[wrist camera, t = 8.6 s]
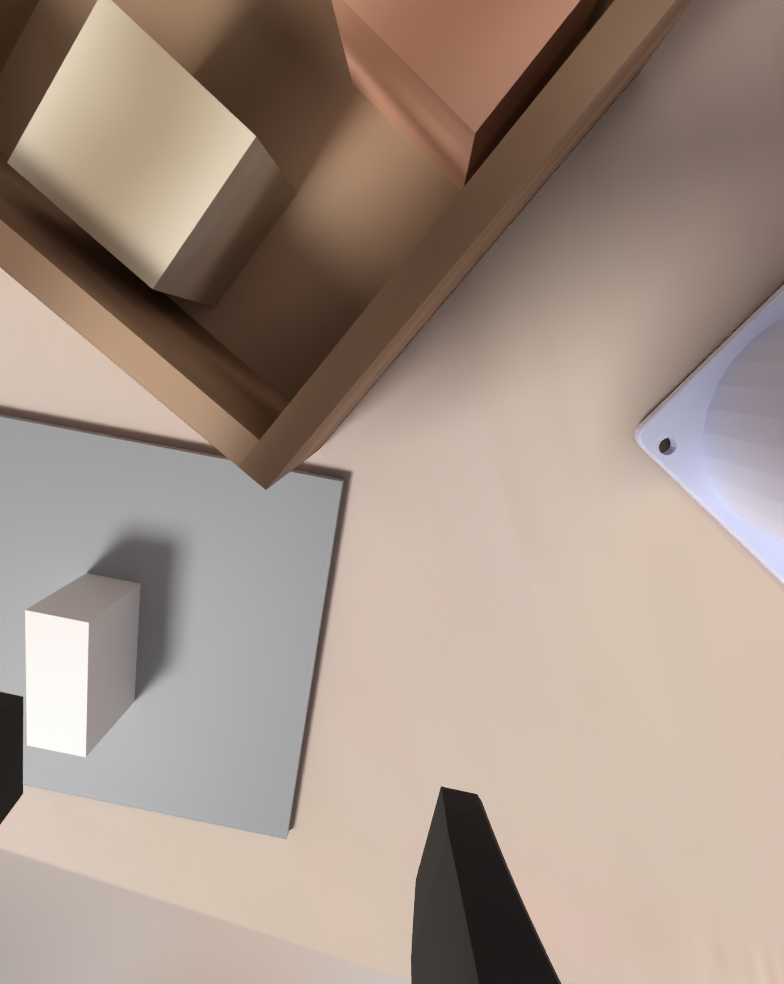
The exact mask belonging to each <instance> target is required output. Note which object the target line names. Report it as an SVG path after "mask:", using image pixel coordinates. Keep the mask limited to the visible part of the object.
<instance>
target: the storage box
mask: <svg viewBox="0 0 784 984" xmlns="http://www.w3.org/2000/svg"><path fill="white" fill-rule="evenodd" d="M97 1H98V0H0V267H1V268H2V269H3V270H4V271H5V272H6V273H8V274H9V275H10V276H11V277H12V278H14V279H15V280H16V281H17V282H18V283H20V284H21V285H22V286H23V287H24V288H26V289H27V290H28V291H29V292H30V293H32V294H33V295H34V296H35V297H36V298H37V299H39V300H40V301H41V302H42V303H43V304H45V305H46V306H47V307H48V308H49V309H51V310H52V311H53V312H54V313H55V314H57V315H58V316H59V317H60V318H61V319H62V320H64V321H65V322H66V323H67V324H68V325H70V326H71V327H72V328H73V329H74V330H76V331H77V332H78V333H79V334H80V335H82V336H83V337H84V338H85V339H86V340H88V341H89V342H90V343H91V344H92V345H93V346H95V347H96V348H97V349H98V350H99V351H101V352H102V353H103V354H104V355H105V356H107V357H108V358H109V359H110V360H111V361H113V362H114V363H115V364H116V365H117V366H118V367H120V368H121V369H122V370H123V371H124V372H126V373H127V374H128V375H129V376H130V377H132V378H133V379H134V380H135V381H136V382H138V383H139V384H140V385H141V386H142V387H144V388H145V389H146V390H147V391H148V392H149V393H151V394H152V395H153V396H154V397H155V398H157V399H158V400H159V401H160V402H161V403H163V404H164V405H165V406H166V407H167V408H169V409H170V410H171V411H172V412H173V413H174V414H176V415H177V416H178V417H179V418H180V419H182V420H183V421H184V422H185V423H186V424H188V425H189V426H190V427H191V428H192V429H194V430H195V431H196V432H197V433H198V434H199V435H201V436H202V437H203V438H204V439H205V440H207V441H208V442H209V443H210V444H211V445H213V446H214V447H215V448H216V449H217V450H219V451H220V452H221V453H222V454H223V455H225V456H226V457H227V458H228V459H229V460H230V461H232V462H233V463H234V464H235V465H236V466H238V467H239V468H240V469H241V470H242V471H244V472H245V473H246V474H247V475H248V476H250V477H251V478H252V479H253V480H254V481H255V482H257V483H258V484H259V485H260V486H261V487H263V488H264V489H265V490H267V489H268V488H269V487H271V486H272V485H273V484H275V483H276V482H277V481H279V480H280V479H281V478H283V477H284V476H285V475H287V474H288V473H289V472H290V471H292V470H293V469H294V468H296V467H297V466H298V465H300V464H301V463H302V462H304V461H305V460H306V459H308V458H309V457H310V456H311V455H313V454H314V453H315V452H317V451H318V450H319V449H320V447H321V446H322V445H323V444H324V443H325V442H326V440H327V439H328V438H329V437H330V436H331V434H332V433H333V432H334V431H335V430H336V429H337V427H338V426H339V425H340V424H341V423H342V421H343V420H344V419H345V418H346V417H347V416H348V414H349V413H350V412H351V411H352V410H353V409H354V407H355V406H356V405H357V404H358V403H359V401H360V400H361V399H362V398H363V397H364V396H365V394H366V393H367V392H368V391H369V390H370V388H371V387H372V386H373V385H374V384H375V383H376V381H377V380H378V379H379V378H380V377H381V376H382V374H383V373H384V372H385V371H386V370H387V368H388V367H389V366H390V365H391V364H392V363H393V361H394V360H395V359H396V358H397V357H398V356H399V354H400V353H401V352H402V351H403V350H404V348H405V347H406V346H407V345H408V344H409V343H410V341H411V340H412V339H413V338H414V337H415V335H416V334H417V333H418V332H419V331H420V330H421V328H422V327H423V326H424V325H425V324H426V323H427V321H428V320H429V319H430V318H431V317H432V315H433V314H434V313H435V312H436V311H437V310H438V308H439V307H440V306H441V305H442V304H443V302H444V301H445V300H446V299H447V298H448V297H449V295H450V294H451V293H452V292H453V291H454V290H455V288H456V287H457V286H458V285H459V284H460V282H461V281H462V280H463V279H464V278H465V277H466V275H467V274H468V273H469V272H470V271H471V269H472V268H473V267H474V266H475V265H476V264H477V262H478V261H479V260H480V259H481V258H482V257H483V255H484V254H485V253H486V252H487V251H488V249H489V248H490V247H491V246H492V245H493V244H494V242H495V241H496V240H497V239H498V238H499V236H500V235H501V234H502V233H503V232H504V231H505V229H506V228H507V227H508V226H509V225H510V224H511V222H512V221H513V220H514V219H515V218H516V216H517V215H518V214H519V213H520V212H521V211H522V209H523V208H524V207H525V206H526V205H527V204H528V202H529V201H530V200H531V199H532V198H533V196H534V195H535V194H536V193H537V192H538V191H539V189H540V188H541V187H542V186H543V185H544V183H545V182H546V181H547V180H548V179H549V178H550V176H551V175H552V174H553V173H554V172H555V171H556V169H557V168H558V167H559V166H560V165H561V163H562V162H563V161H564V160H565V159H566V158H567V156H568V155H569V154H570V153H571V152H572V150H573V149H574V148H575V147H576V146H577V145H578V143H579V142H580V141H581V140H582V139H583V138H584V136H585V135H586V134H587V133H588V132H589V130H590V129H591V128H592V127H593V126H594V125H595V123H596V122H597V121H598V120H599V119H600V117H601V116H602V115H603V114H604V113H605V112H606V110H607V109H608V108H609V107H610V106H611V105H612V103H613V102H614V101H615V100H616V99H617V97H618V96H619V95H620V94H621V93H622V92H623V90H624V89H625V88H626V87H627V86H628V84H629V83H630V82H631V81H632V80H633V79H634V77H635V76H636V75H637V74H638V73H639V72H640V70H641V69H642V68H643V67H644V65H645V64H646V62H647V61H648V60H649V58H650V57H651V56H652V54H653V53H654V51H655V50H656V49H657V47H658V46H659V44H660V43H661V42H662V40H663V39H664V38H665V36H666V35H667V33H668V32H669V31H670V29H671V28H672V26H673V25H674V24H675V22H676V21H677V20H678V18H679V17H680V15H681V14H682V13H683V11H684V10H685V8H686V7H687V6H688V4H689V3H690V2H691V0H598V1H597V3H596V5H595V7H594V9H593V12H592V14H591V16H590V18H589V20H588V22H587V24H586V27H585V29H584V31H583V33H582V35H581V37H580V39H579V42H578V44H577V46H576V48H575V50H574V51H573V53H572V54H571V55H570V56H569V58H568V59H567V60H566V61H565V62H564V64H563V65H562V66H561V67H560V69H559V70H558V71H557V72H556V74H555V75H554V76H553V77H552V79H551V80H550V81H549V82H548V84H547V85H546V86H545V87H544V88H543V90H542V91H541V92H540V93H539V95H538V96H537V97H536V98H535V100H534V101H533V102H532V103H531V105H530V106H529V107H528V108H527V110H526V111H525V112H524V113H523V114H522V116H521V117H520V118H519V119H518V121H517V122H516V123H515V124H514V126H513V127H512V128H511V129H510V131H509V132H508V133H507V134H506V136H505V137H504V138H503V139H502V140H501V142H500V143H499V144H498V145H497V147H496V148H495V149H494V150H493V152H492V153H491V154H490V155H489V157H488V158H487V159H486V160H485V162H484V163H483V164H482V165H481V166H480V168H479V169H478V170H477V171H476V173H475V174H474V175H473V176H472V178H471V179H470V180H469V181H468V183H467V184H466V185H465V186H464V188H463V189H462V190H460V189H459V188H458V187H457V186H456V185H455V184H454V183H453V182H452V181H451V180H450V179H449V178H448V177H447V176H446V175H445V174H444V173H443V172H442V171H441V170H440V169H439V168H438V167H437V166H436V165H435V164H434V163H433V162H432V161H431V160H430V159H429V158H428V157H427V156H426V155H425V154H424V153H423V152H422V151H421V150H420V149H419V148H418V147H417V146H416V145H415V144H414V143H413V142H412V141H411V140H410V139H409V138H407V137H406V136H405V135H404V134H403V133H402V132H401V131H400V130H399V129H398V128H397V127H396V126H395V125H394V124H393V123H392V122H391V121H390V120H389V119H388V118H387V117H386V116H385V115H384V114H383V113H382V112H381V111H380V110H379V109H378V108H377V107H376V106H375V105H374V104H373V103H372V102H371V101H370V100H369V99H368V98H367V97H366V96H365V95H364V94H363V93H362V92H361V91H360V90H359V89H358V88H357V87H356V86H355V85H354V84H353V83H352V79H351V75H350V71H349V67H348V64H347V60H346V56H345V52H344V48H343V44H342V40H341V36H340V32H339V28H338V24H337V20H336V16H335V12H334V9H333V5H332V1H331V0H112V1H113V2H114V3H115V4H116V5H117V6H118V7H119V8H120V9H121V10H122V11H123V12H125V13H126V14H127V15H128V16H129V17H130V18H131V19H132V20H133V21H134V22H135V23H136V24H137V25H138V26H139V27H140V28H142V29H143V30H144V31H145V32H146V33H147V34H148V35H149V36H150V37H151V38H152V39H153V40H154V41H155V42H156V43H157V44H159V45H160V46H161V47H162V48H163V49H164V50H165V51H166V52H167V53H168V54H169V55H170V56H171V57H172V58H173V59H174V60H176V61H177V62H178V63H179V64H180V65H181V66H182V67H183V68H184V69H185V70H186V71H187V72H188V73H189V74H190V75H192V76H193V77H194V78H195V79H196V80H197V81H198V82H199V83H200V84H201V85H202V86H203V87H204V88H205V89H206V90H207V91H209V92H210V93H211V94H212V95H213V96H214V97H215V98H216V99H217V100H218V101H219V102H220V103H221V104H222V105H223V106H224V107H226V108H227V109H228V110H229V111H230V112H231V113H232V114H233V115H234V116H235V117H236V118H237V119H238V120H239V121H240V122H241V123H243V124H244V125H245V126H246V127H247V128H248V129H249V130H250V131H251V132H252V133H253V134H254V135H255V136H256V137H257V138H258V139H259V141H260V142H261V144H262V145H263V146H264V148H265V149H266V150H267V152H268V153H269V155H270V156H271V157H272V159H273V160H274V162H275V163H276V164H277V166H278V167H279V168H280V170H281V171H282V173H283V174H284V175H285V177H286V178H287V179H288V181H289V182H290V184H291V185H292V186H293V188H294V189H295V190H296V192H297V195H296V196H295V198H294V199H293V200H292V202H291V203H290V204H289V206H288V207H287V209H286V210H285V211H284V213H283V214H282V216H281V217H280V218H279V220H278V221H277V222H276V224H275V225H274V227H273V228H272V229H271V231H270V232H269V234H268V235H267V236H266V238H265V239H264V240H263V242H262V243H261V245H260V246H259V247H258V249H257V250H256V252H255V253H254V254H253V256H252V257H251V258H250V260H249V261H248V263H247V264H246V265H245V267H244V268H243V270H242V271H241V272H240V274H239V275H238V276H237V278H236V279H235V281H234V282H233V283H232V285H231V286H230V288H229V289H228V290H227V292H226V293H225V295H224V296H223V297H222V299H221V300H220V301H219V303H218V304H217V306H216V307H212V306H208V305H205V304H202V303H198V302H195V301H191V300H188V299H184V298H181V297H178V296H174V295H171V294H167V293H164V292H160V291H157V290H154V289H152V288H151V287H149V286H148V285H147V284H146V283H145V282H144V281H142V280H141V279H140V278H139V277H138V276H137V275H136V274H134V273H133V272H132V271H131V270H130V269H129V268H128V267H126V266H125V265H124V264H123V263H122V262H121V261H119V260H118V259H117V258H116V257H115V256H114V255H113V254H111V253H110V252H109V251H108V250H107V249H106V248H105V247H103V246H102V245H101V244H100V243H99V242H98V241H96V240H95V239H94V238H93V237H92V236H91V235H90V234H88V233H87V232H86V231H85V230H84V229H83V228H82V227H80V226H79V225H78V224H77V223H76V222H75V221H73V220H72V219H71V218H70V217H69V216H68V215H67V214H65V213H64V212H63V211H62V210H61V209H60V208H59V207H57V206H56V205H55V204H54V203H53V202H52V201H50V200H49V199H48V198H47V197H46V196H45V195H44V194H42V193H41V192H40V191H39V190H38V189H37V188H36V187H34V186H33V185H32V184H31V183H30V182H29V181H27V180H26V179H25V178H24V177H23V176H22V175H21V174H19V173H18V172H17V171H16V170H15V169H14V168H13V167H11V166H10V165H9V164H8V163H7V162H8V160H9V158H10V156H11V155H12V153H13V151H14V149H15V147H16V146H17V144H18V142H19V140H20V139H21V137H22V135H23V133H24V131H25V130H26V128H27V126H28V124H29V122H30V121H31V119H32V117H33V115H34V113H35V112H36V110H37V108H38V106H39V105H40V103H41V101H42V99H43V97H44V96H45V94H46V92H47V90H48V88H49V87H50V85H51V83H52V81H53V79H54V78H55V76H56V74H57V72H58V70H59V69H60V67H61V65H62V63H63V62H64V60H65V58H66V56H67V54H68V53H69V51H70V49H71V47H72V45H73V44H74V42H75V40H76V38H77V36H78V35H79V33H80V31H81V29H82V28H83V26H84V24H85V22H86V20H87V19H88V17H89V15H90V13H91V11H92V10H93V8H94V6H95V4H96V2H97Z"/></svg>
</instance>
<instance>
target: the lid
mask: <svg viewBox="0 0 784 984" xmlns="http://www.w3.org/2000/svg"><path fill="white" fill-rule="evenodd" d="M343 485H344V479H343V478H337V477H332V476H327V475H321V474H316V473H311V472H306V471H300V470H295V469H293V470H292V471H290V472H289V473H288V474H287V475H285V476H284V477H283V478H281V479H280V480H279V481H277V482H276V483H275V484H273V485H272V486H271V487H269V488H268V489H267V490H265V489H264V488H263V487H261V486H260V485H259V484H258V483H257V482H255V481H254V480H253V479H252V478H251V477H250V476H248V475H247V474H246V473H245V472H244V471H242V470H241V469H240V468H239V467H238V466H236V465H235V464H234V463H233V462H232V461H230V460H229V459H228V458H227V457H226V456H221V455H216V454H210V453H205V452H200V451H195V450H189V449H184V448H179V447H173V446H168V445H163V444H157V443H152V442H147V441H142V440H136V439H131V438H126V437H120V436H115V435H110V434H105V433H99V432H94V431H89V430H83V429H78V428H73V427H68V426H62V425H57V424H52V423H46V422H41V421H36V420H31V419H25V418H20V417H15V416H9V415H4V414H0V692H4V693H9V694H13V695H18V696H23V785H25V786H30V787H35V788H40V789H45V790H50V791H54V792H59V793H64V794H69V795H74V796H79V797H84V798H89V799H93V800H98V801H103V802H108V803H113V804H118V805H123V806H127V807H132V808H137V809H142V810H147V811H152V812H157V813H162V814H166V815H171V816H176V817H181V818H186V819H191V820H196V821H200V822H205V823H210V824H215V825H220V826H225V827H230V828H235V829H239V830H244V831H249V832H254V833H259V834H264V835H269V836H273V837H278V838H283V839H287V836H288V833H289V828H290V821H291V815H292V809H293V802H294V796H295V790H296V783H297V777H298V771H299V764H300V758H301V752H302V745H303V739H304V733H305V726H306V720H307V714H308V707H309V701H310V695H311V688H312V682H313V676H314V669H315V663H316V657H317V650H318V644H319V638H320V631H321V625H322V619H323V612H324V606H325V600H326V593H327V587H328V581H329V574H330V568H331V562H332V555H333V549H334V543H335V536H336V530H337V524H338V517H339V511H340V505H341V498H342V492H343Z"/></svg>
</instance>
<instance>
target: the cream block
mask: <svg viewBox="0 0 784 984" xmlns="http://www.w3.org/2000/svg"><path fill="white" fill-rule="evenodd" d="M7 163H8V164H9V165H10V166H11V167H13V168H14V169H15V170H16V171H17V172H18V173H19V174H21V175H22V176H23V177H24V178H25V179H26V180H27V181H29V182H30V183H31V184H32V185H33V186H34V187H36V188H37V189H38V190H39V191H40V192H41V193H42V194H44V195H45V196H46V197H47V198H48V199H49V200H50V201H52V202H53V203H54V204H55V205H56V206H57V207H59V208H60V209H61V210H62V211H63V212H64V213H65V214H67V215H68V216H69V217H70V218H71V219H72V220H73V221H75V222H76V223H77V224H78V225H79V226H80V227H82V228H83V229H84V230H85V231H86V232H87V233H88V234H90V235H91V236H92V237H93V238H94V239H95V240H96V241H98V242H99V243H100V244H101V245H102V246H103V247H105V248H106V249H107V250H108V251H109V252H110V253H111V254H113V255H114V256H115V257H116V258H117V259H118V260H119V261H121V262H122V263H123V264H124V265H125V266H126V267H128V268H129V269H130V270H131V271H132V272H133V273H134V274H136V275H137V276H138V277H139V278H140V279H141V280H142V281H144V282H145V283H146V284H147V285H148V286H149V287H151V288H152V289H154V290H157V291H160V292H164V293H167V294H171V295H174V296H178V297H181V298H184V299H188V300H191V301H195V302H198V303H202V304H205V305H208V306H212V307H216V306H217V304H218V303H219V301H220V300H221V299H222V297H223V296H224V295H225V293H226V292H227V290H228V289H229V288H230V286H231V285H232V283H233V282H234V281H235V279H236V278H237V276H238V275H239V274H240V272H241V271H242V270H243V268H244V267H245V265H246V264H247V263H248V261H249V260H250V258H251V257H252V256H253V254H254V253H255V252H256V250H257V249H258V247H259V246H260V245H261V243H262V242H263V240H264V239H265V238H266V236H267V235H268V234H269V232H270V231H271V229H272V228H273V227H274V225H275V224H276V222H277V221H278V220H279V218H280V217H281V216H282V214H283V213H284V211H285V210H286V209H287V207H288V206H289V204H290V203H291V202H292V200H293V199H294V198H295V196H296V195H297V192H296V190H295V189H294V188H293V186H292V185H291V184H290V182H289V181H288V179H287V178H286V177H285V175H284V174H283V173H282V171H281V170H280V168H279V167H278V166H277V164H276V163H275V162H274V160H273V159H272V157H271V156H270V155H269V153H268V152H267V150H266V149H265V148H264V146H263V145H262V144H261V142H260V141H259V139H258V138H257V137H256V136H255V135H254V134H253V133H252V132H251V131H250V130H249V129H248V128H247V127H246V126H245V125H244V124H243V123H241V122H240V121H239V120H238V119H237V118H236V117H235V116H234V115H233V114H232V113H231V112H230V111H229V110H228V109H227V108H226V107H224V106H223V105H222V104H221V103H220V102H219V101H218V100H217V99H216V98H215V97H214V96H213V95H212V94H211V93H210V92H209V91H207V90H206V89H205V88H204V87H203V86H202V85H201V84H200V83H199V82H198V81H197V80H196V79H195V78H194V77H193V76H192V75H190V74H189V73H188V72H187V71H186V70H185V69H184V68H183V67H182V66H181V65H180V64H179V63H178V62H177V61H176V60H174V59H173V58H172V57H171V56H170V55H169V54H168V53H167V52H166V51H165V50H164V49H163V48H162V47H161V46H160V45H159V44H157V43H156V42H155V41H154V40H153V39H152V38H151V37H150V36H149V35H148V34H147V33H146V32H145V31H144V30H143V29H142V28H140V27H139V26H138V25H137V24H136V23H135V22H134V21H133V20H132V19H131V18H130V17H129V16H128V15H127V14H126V13H125V12H123V11H122V10H121V9H120V8H119V7H118V6H117V5H116V4H115V3H114V2H113V1H112V0H98V1H97V2H96V4H95V6H94V8H93V10H92V11H91V13H90V15H89V17H88V19H87V20H86V22H85V24H84V26H83V28H82V29H81V31H80V33H79V35H78V36H77V38H76V40H75V42H74V44H73V45H72V47H71V49H70V51H69V53H68V54H67V56H66V58H65V60H64V62H63V63H62V65H61V67H60V69H59V70H58V72H57V74H56V76H55V78H54V79H53V81H52V83H51V85H50V87H49V88H48V90H47V92H46V94H45V96H44V97H43V99H42V101H41V103H40V105H39V106H38V108H37V110H36V112H35V113H34V115H33V117H32V119H31V121H30V122H29V124H28V126H27V128H26V130H25V131H24V133H23V135H22V137H21V139H20V140H19V142H18V144H17V146H16V147H15V149H14V151H13V153H12V155H11V156H10V158H9V160H8V162H7Z"/></svg>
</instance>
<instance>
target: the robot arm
mask: <svg viewBox="0 0 784 984" xmlns="http://www.w3.org/2000/svg"><path fill="white" fill-rule="evenodd" d="M665 438H669V440H670V447H669V449H668V450H667V451H665V452H664V453H661V452H660V451H659V444H660V442H661V441H662V440H664V439H665ZM635 440H636V442H637V444H638V445H639V446H640V447H641V448H642V449H643V450H644V451H645V452H646V453H647V454H648V455H649V456H650V457H651V458H652V459H653V460H654V461H655V462H656V463H657V464H658V465H659V466H660V467H661V468H663V469H664V470H665V471H666V472H667V473H668V474H669V475H670V476H671V477H672V478H673V479H674V480H675V481H676V482H677V483H678V484H679V485H680V486H681V487H682V488H683V489H684V490H685V491H687V492H688V493H689V494H690V495H691V496H692V497H693V498H694V499H695V500H696V501H697V502H698V503H699V504H700V505H701V506H702V507H703V508H704V509H705V510H706V511H707V512H708V513H710V514H711V515H712V516H713V517H714V518H715V519H716V520H717V521H718V522H719V523H720V524H721V525H722V526H723V527H724V528H725V529H726V530H727V531H728V532H729V533H730V534H731V535H733V536H734V537H735V538H736V539H737V540H738V541H739V542H740V543H741V544H742V545H743V546H744V547H745V548H746V549H747V550H748V551H749V552H750V553H751V554H752V555H753V556H754V557H756V558H757V559H758V560H759V561H760V562H761V563H762V564H763V565H764V566H765V567H766V568H767V569H768V570H769V571H770V572H771V573H772V574H773V575H774V576H775V577H776V578H777V579H779V580H780V581H781V582H782V583H783V584H784V284H783V285H782V286H781V287H780V288H779V289H778V290H777V291H776V292H775V293H774V294H773V295H772V296H771V297H770V298H769V299H768V300H767V301H766V302H765V303H764V304H763V305H762V306H761V307H760V308H759V309H758V310H757V311H756V312H754V313H753V314H752V315H751V316H750V317H749V318H748V319H747V320H746V321H745V322H744V323H743V324H742V325H741V326H740V327H739V328H738V329H737V330H736V331H735V332H734V333H733V334H732V335H731V336H730V337H729V338H728V339H727V340H726V341H725V342H724V343H723V344H722V345H720V346H719V347H718V348H717V349H716V350H715V351H714V352H713V353H712V354H711V355H710V356H709V357H708V358H707V359H706V360H705V361H704V362H703V363H702V364H701V365H700V366H699V367H698V368H697V369H696V370H695V371H694V372H693V373H692V374H691V375H690V376H689V377H688V378H686V379H685V380H684V381H683V382H682V383H681V384H680V385H679V386H678V387H677V388H676V389H675V390H674V391H673V392H672V393H671V394H670V395H669V396H668V397H667V398H666V399H665V400H664V401H663V402H662V403H661V404H660V405H659V406H658V407H657V408H656V409H655V410H654V411H653V412H651V413H650V414H649V415H648V416H647V417H646V418H645V419H644V420H643V421H642V422H641V423H640V424H639V426H638V427H637V429H636V432H635ZM22 794H23V696H18V695H13V694H9V693H4V692H0V824H1V823H2V821H3V820H4V819H5V817H6V816H7V815H8V813H9V812H10V810H11V809H12V808H13V806H14V805H15V804H16V802H17V801H18V800H19V798H20V797H21V795H22ZM411 977H412V984H561V982H560V980H559V978H558V976H557V974H556V972H555V970H554V968H553V966H552V964H551V962H550V960H549V958H548V955H547V953H546V951H545V949H544V947H543V945H542V943H541V940H540V938H539V936H538V934H537V932H536V930H535V927H534V925H533V923H532V921H531V919H530V917H529V915H528V912H527V910H526V908H525V906H524V904H523V901H522V899H521V897H520V895H519V892H518V890H517V888H516V885H515V883H514V881H513V878H512V876H511V874H510V871H509V869H508V867H507V864H506V862H505V859H504V857H503V855H502V852H501V850H500V847H499V845H498V842H497V840H496V837H495V835H494V832H493V830H492V827H491V825H490V822H489V819H488V817H487V814H486V812H485V809H484V806H483V804H482V801H481V800H480V798H479V797H478V795H477V794H473V793H469V792H464V791H459V790H455V789H450V788H445V787H441V789H440V792H439V796H438V800H437V804H436V807H435V811H434V815H433V818H432V822H431V826H430V829H429V833H428V837H427V840H426V844H425V848H424V852H423V855H422V859H421V863H420V866H419V870H418V874H417V877H416V886H415V902H414V917H413V934H412V952H411Z"/></svg>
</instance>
